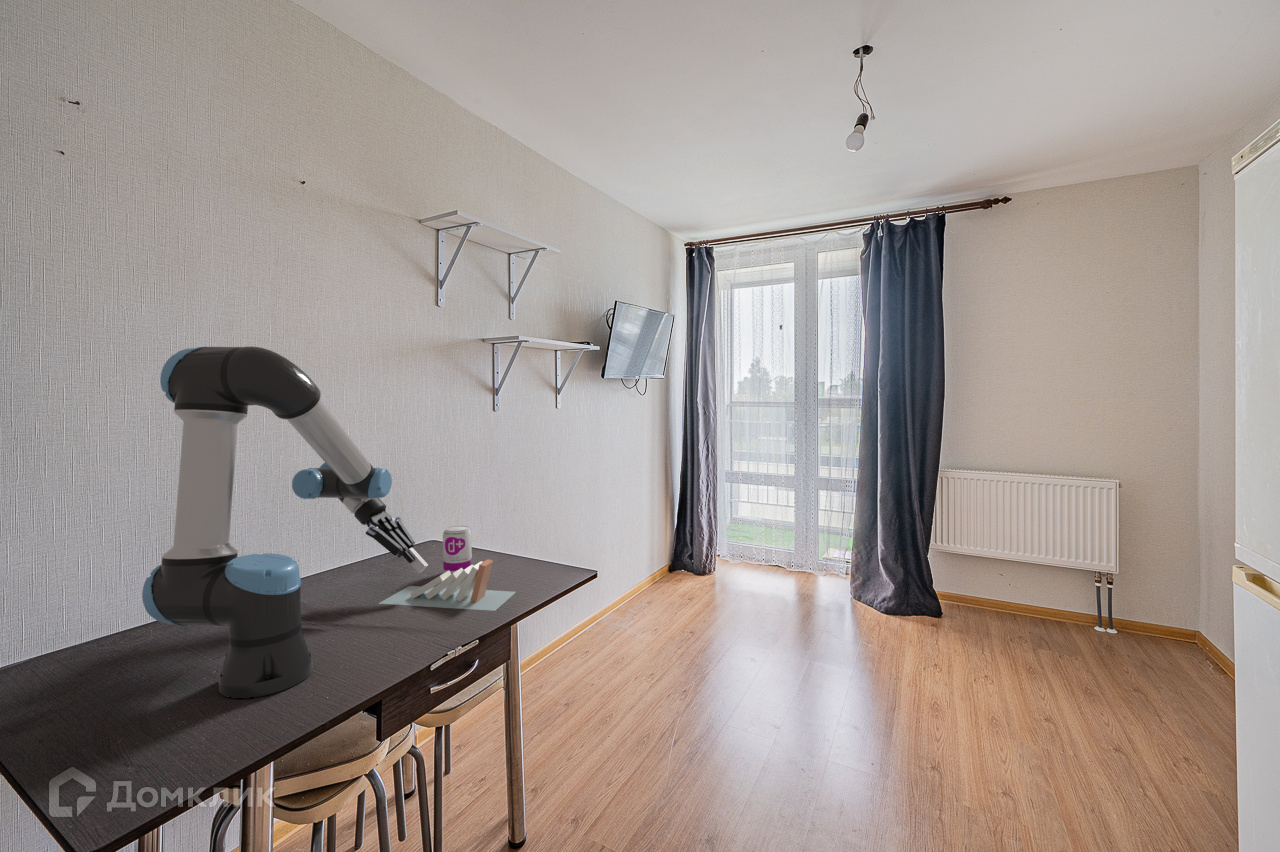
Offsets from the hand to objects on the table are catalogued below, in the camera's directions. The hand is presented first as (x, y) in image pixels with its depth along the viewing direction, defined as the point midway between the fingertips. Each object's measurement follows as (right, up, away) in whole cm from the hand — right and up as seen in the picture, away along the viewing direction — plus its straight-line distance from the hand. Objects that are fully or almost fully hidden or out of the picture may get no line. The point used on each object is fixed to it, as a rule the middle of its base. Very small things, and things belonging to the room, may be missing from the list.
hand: (423, 569), depth 150 cm
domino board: (+7, -9, -1) cm, 11 cm away
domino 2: (+2, -7, 0) cm, 7 cm away
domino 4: (+11, -7, -2) cm, 13 cm away
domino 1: (-2, -7, +1) cm, 7 cm away
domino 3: (+7, -7, -1) cm, 10 cm away
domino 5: (+15, -7, -2) cm, 17 cm away
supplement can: (+3, -8, +20) cm, 22 cm away
